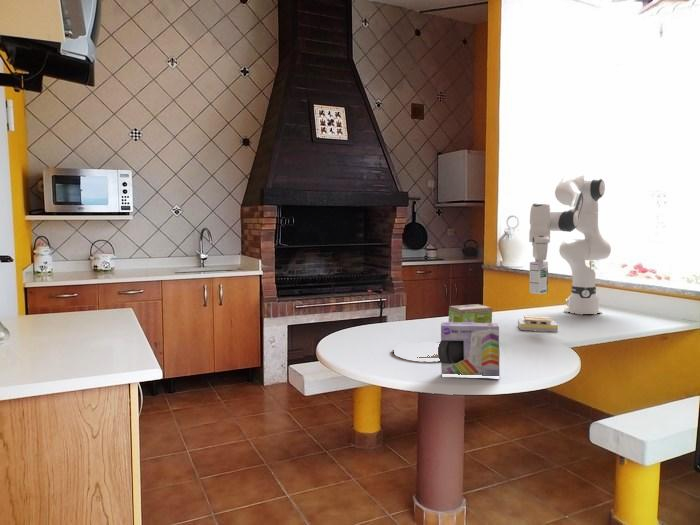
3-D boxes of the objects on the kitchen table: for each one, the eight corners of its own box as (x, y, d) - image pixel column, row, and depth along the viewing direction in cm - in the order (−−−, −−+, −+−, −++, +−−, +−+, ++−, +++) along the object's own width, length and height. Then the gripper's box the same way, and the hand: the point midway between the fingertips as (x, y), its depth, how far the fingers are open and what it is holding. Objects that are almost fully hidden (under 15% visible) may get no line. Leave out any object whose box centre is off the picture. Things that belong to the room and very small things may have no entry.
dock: (517, 325, 251) (518, 318, 251) (553, 326, 248) (553, 320, 247) (520, 330, 239) (520, 323, 239) (557, 332, 236) (557, 325, 236)
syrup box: (539, 294, 238) (540, 262, 237) (528, 293, 243) (529, 261, 242) (547, 293, 241) (548, 261, 240) (537, 291, 246) (537, 260, 245)
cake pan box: (437, 378, 170) (438, 323, 169) (438, 373, 175) (438, 320, 174) (499, 381, 166) (500, 325, 165) (498, 376, 171) (499, 322, 170)
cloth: (523, 319, 249) (524, 315, 249) (548, 320, 246) (548, 316, 246) (525, 323, 240) (525, 319, 240) (551, 324, 238) (551, 320, 238)
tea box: (461, 346, 212) (462, 309, 210) (447, 340, 221) (447, 305, 220) (492, 342, 218) (492, 306, 217) (476, 337, 227) (477, 303, 226)
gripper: (529, 237, 251) (529, 266, 252) (534, 239, 231) (534, 270, 232) (544, 237, 249) (543, 266, 251) (550, 239, 230) (549, 271, 231)
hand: (538, 268), depth 241 cm, fingers closed on syrup box, 8 cm apart
